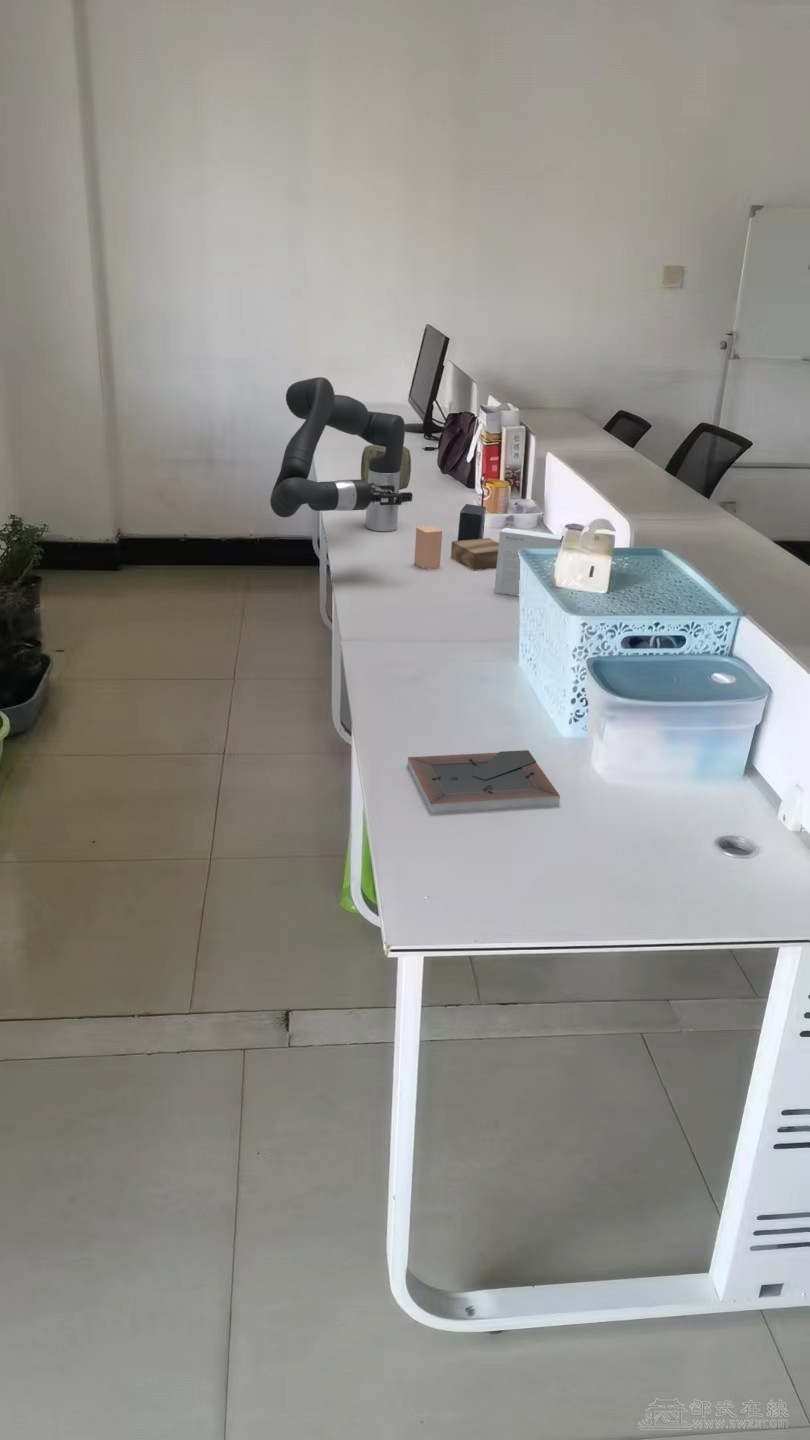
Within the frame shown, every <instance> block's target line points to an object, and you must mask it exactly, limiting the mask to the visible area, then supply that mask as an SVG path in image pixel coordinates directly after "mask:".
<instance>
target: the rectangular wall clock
mask: <svg viewBox="0 0 810 1440" xmlns="http://www.w3.org/2000/svg"><path fill="white" fill-rule="evenodd" d="M406 765H407V768H408V770H409V771H410V774H411V776H412V778H413V780H414V782H415V784H416V786H417V788H418V790H419V793H420V794H421V796H422V799H423V800H424V803H425V805H426V807H427V808H428V811H429V813H432V814H433V813H445V812H461V811H474V810H476V811H478V810H491V809H492V810H493V809H494V810H495V809H509V808H511V809H512V808H522V807H523V808H524V807H538V806H539V807H540V806H552V805H553V806H555V805H560V799H561V795H560V794H559V792H558V791H557V789H556V788H555V786H554V785H553V783H552V782H551V781H550V779H549V778H548V777H547V776H546V774H545V772H544V771H543V769H542V768H541V767H540V766H539V764H538V763H537V760H536V759H535V757H533V755H532V753H531V752H530V750H528V749H527V750H525V749H524V750H506V751H505V750H504V751H499V752H486V753H483V752H482V753H466V754H465V753H464V754H463V753H462V754H446V755H445V754H444V755H443V754H442V755H428V756H427V755H423V756H408V757H407V763H406Z"/></svg>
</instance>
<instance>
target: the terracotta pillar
mask: <svg viewBox="0 0 810 1440" xmlns="http://www.w3.org/2000/svg"><path fill="white" fill-rule="evenodd" d="M442 538H443V530H441V529H439V528H437V527H435V526H433V525H432V526H424V527H423V526H420V527H416V530H415V545H414V546H415V547H414V560H413V561H414V562H413V563H414V565H415V564H416V565H415V566H417V565H418V566H419V567H418V566H417V567H418V568H420V567H421V568H420V569H422V568H423V569H422V570H426V569H425V568H431V569H436V568H435V567H440V566H441V554H442V553H441V552H442ZM440 568H441V567H440Z"/></svg>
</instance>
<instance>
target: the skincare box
mask: <svg viewBox="0 0 810 1440" xmlns="http://www.w3.org/2000/svg"><path fill="white" fill-rule="evenodd" d="M562 536H564V535H562V534H554V533H547V532H539V531H531V530H524V529H517V528H508V527H504V528H502V529H501V530H499V539H498V543H499V547H498V557H497V567H496V568H495V569H496V571H495V580H494V581H495V582H494V590H493V592H495V594H499V593H501V595H506V594H510V595H509V596H513V595H516V596H515V597H519V596H518V594H519V580H520V559H519V555H518V550H519V549H523V548H558V547H559V545H560V540H561V538H562Z"/></svg>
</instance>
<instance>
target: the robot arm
mask: <svg viewBox="0 0 810 1440" xmlns="http://www.w3.org/2000/svg"><path fill="white" fill-rule="evenodd" d="M285 402H286V405H287V407H288V409H289V410H290V412H291V413H292V415H294V416H295V417H296V418H298V419H301V420H305V421H304V422H303V423H302V425H301V426H300V427H299V428H298V430H297V431H296V432H295V433H294V435H292V437H291V439H290V440H289V441H288V444H287V445H286V446H285V447H286V448H285V450H284V453H283V454H284V455H283V459H282V462H281V466H280V471H279V473H278V475H277V476H278V477H277V479H276V481H275V483H274V486H273V489H272V491H271V494H270V498H269V499H270V500H269V502H270V507H271V510H272V511H273V513H274V514H276V515H277V516H278V517H280V518H289V517H292V516H293V515H294V514H296V513H297V512H298V510H299V509H300V507H301V506H302V505H308V507H309V508H310V509H311V510H313V511H317V512H325V511H326V512H327V511H339V512H347V511H348V512H349V511H363V510H365V511H366V512H365V527H366V529H368V530H372V531H376V532H392V531H396V530H397V529H398V518H399V506H401V505H402V503H405V502H406V503H407V502H409V503H410V502H412V501H413V493H412V492H405V491H404V492H400V490H399V483H400V466H401V462H402V456H403V446H404V443H405V436H406V426H405V425H406V424H405V423H406V422H405V420H404V417H402V416H401V415H399V414H393V413H386V412H381V411H380V412H379V411H378V412H377V411H369V410H368V408H367V407H366V405H365V404H364V403H362V402H361V401H360V400H358V399H356V398H354V397H351V396H348V395H343V394H335V391H334V387H333V385H332V383H331V382H330V381H329V380H328V378H326V377H322V376H320V377H318V376H317V377H313V378H308V379H303V380H299V381H295V382H294V383H292V384H291V385H290V386H289V387H288V388H287V390H286V392H285ZM326 427H330V428H333V429H335V430H337V431H340V432H343V433H345V434H349V435H352V436H357V437H360V438H361V439H363V440H364V441H365V442H367V443H368V444H370V445H378V446H384V447H386V450H385V454H384V455H382V456H379V457H375V458H372V459H370V461H369V474H368V483H367V482H366V481H365V480H362V479H361V478H360V479H338V480H333V481H332V480H331V481H330V480H329V481H315V480H312V479H308V478H309V475H310V472H311V467H312V464H313V459H314V455H315V452H316V448H317V446H318V443H319V441H320V439H321V438H322V437H321V436H322V434H323V432H324V431H325V428H326Z"/></svg>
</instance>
